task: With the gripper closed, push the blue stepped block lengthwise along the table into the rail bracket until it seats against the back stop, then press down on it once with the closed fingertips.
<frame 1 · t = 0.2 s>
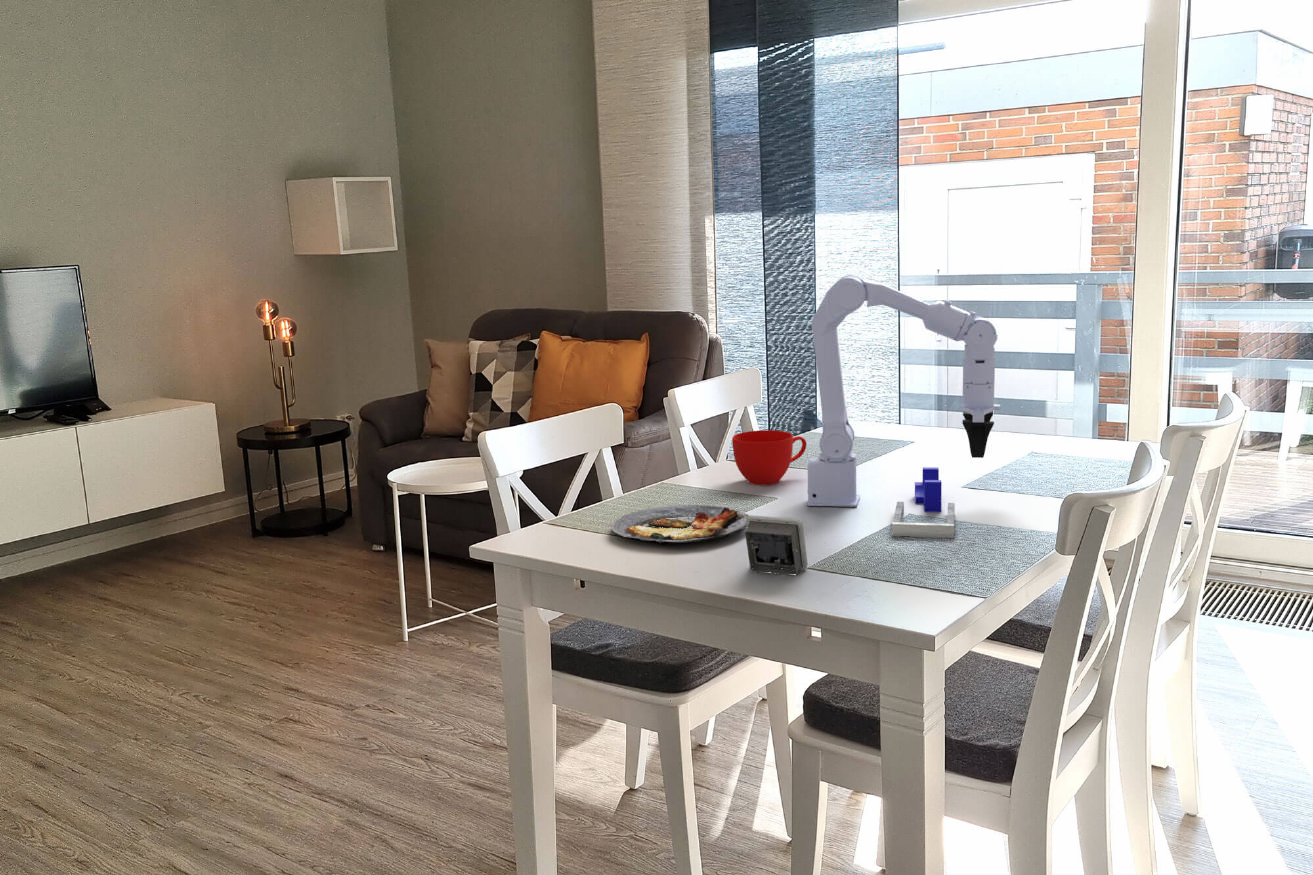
hand: (977, 452, 205), 10 cm above the table, tool pointing down, fingers open, 7 cm apart
food plate: (682, 533, 198), on the table
rail bracket: (924, 524, 195), on the table
ceramic cup: (772, 481, 233), on the table
blue stepped block: (927, 505, 209), on the table
electrical switch: (776, 573, 173), on the table
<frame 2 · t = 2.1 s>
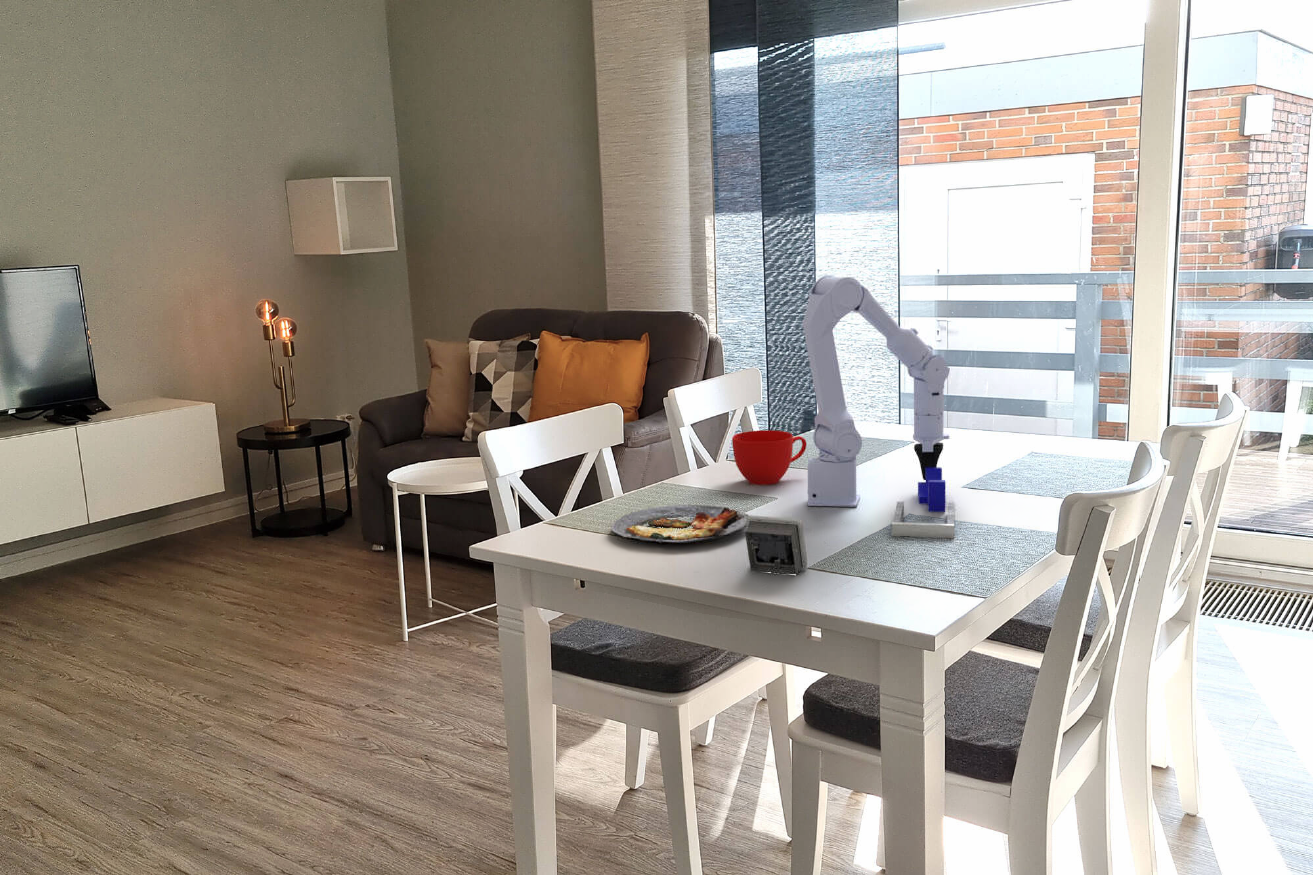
hand: (928, 479, 218), 2 cm above the table, tool pointing down, fingers closed
nothing on the table moved.
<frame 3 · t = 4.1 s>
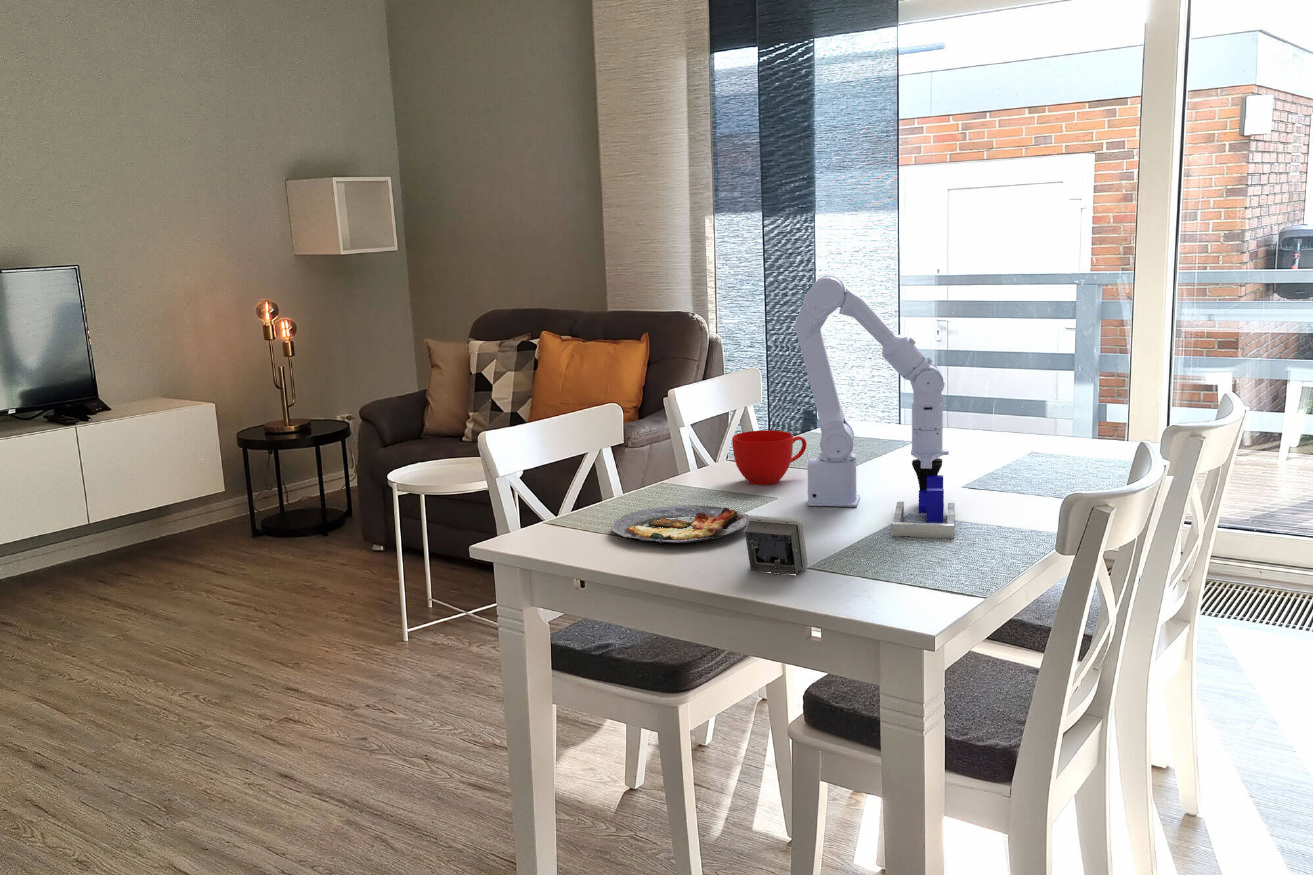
hand: (927, 496, 209), 1 cm above the table, tool pointing down, fingers closed
blue stepped block: (930, 514, 202), on the table, touching gripper
everything else where it was.
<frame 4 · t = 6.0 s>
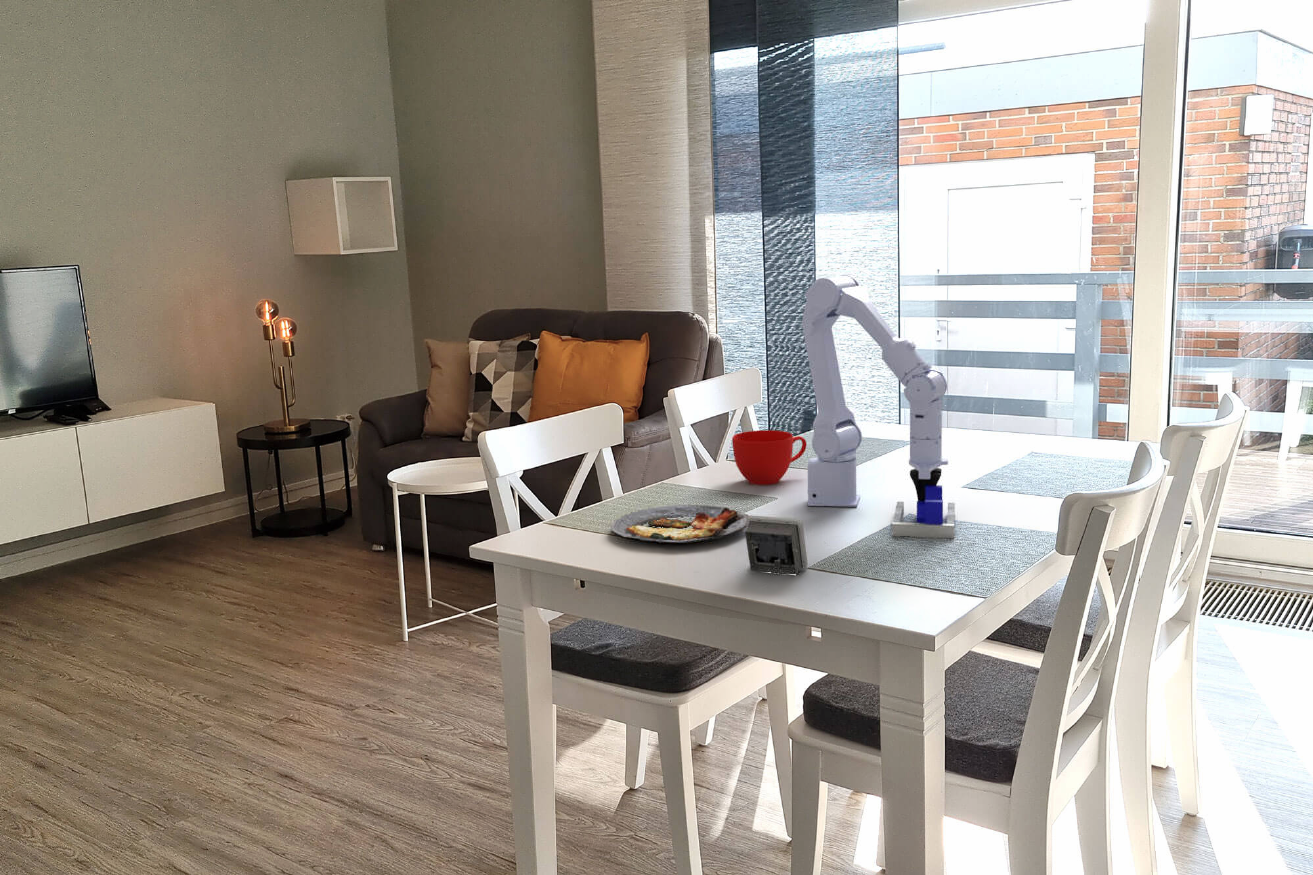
hand: (925, 508, 202), 1 cm above the table, tool pointing down, fingers closed
blue stepped block: (929, 526, 194), resting in rail bracket, touching gripper
everything else where it was.
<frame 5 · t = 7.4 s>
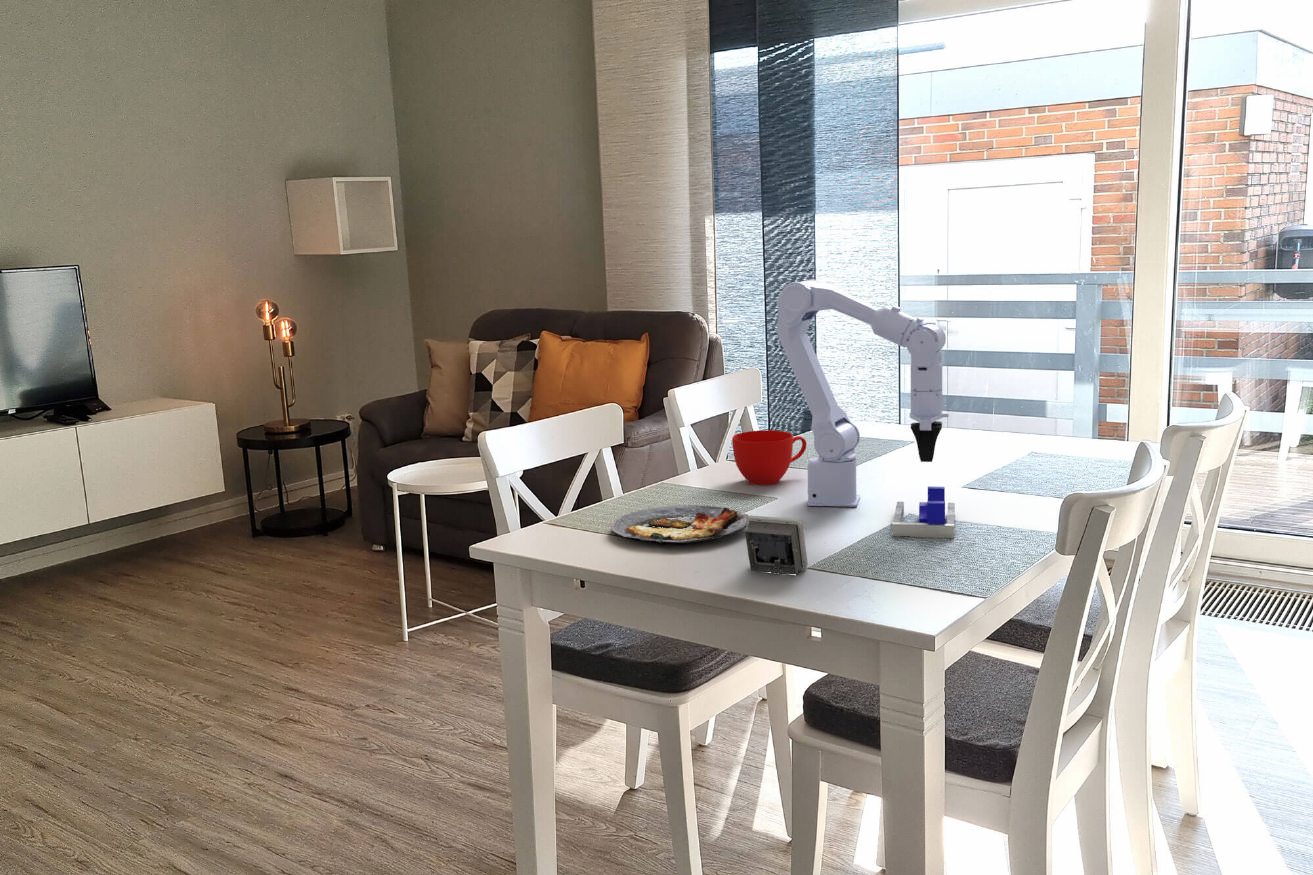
hand: (926, 461, 203), 9 cm above the table, tool pointing down, fingers closed
blue stepped block: (931, 528, 194), resting in rail bracket
everything else where it was.
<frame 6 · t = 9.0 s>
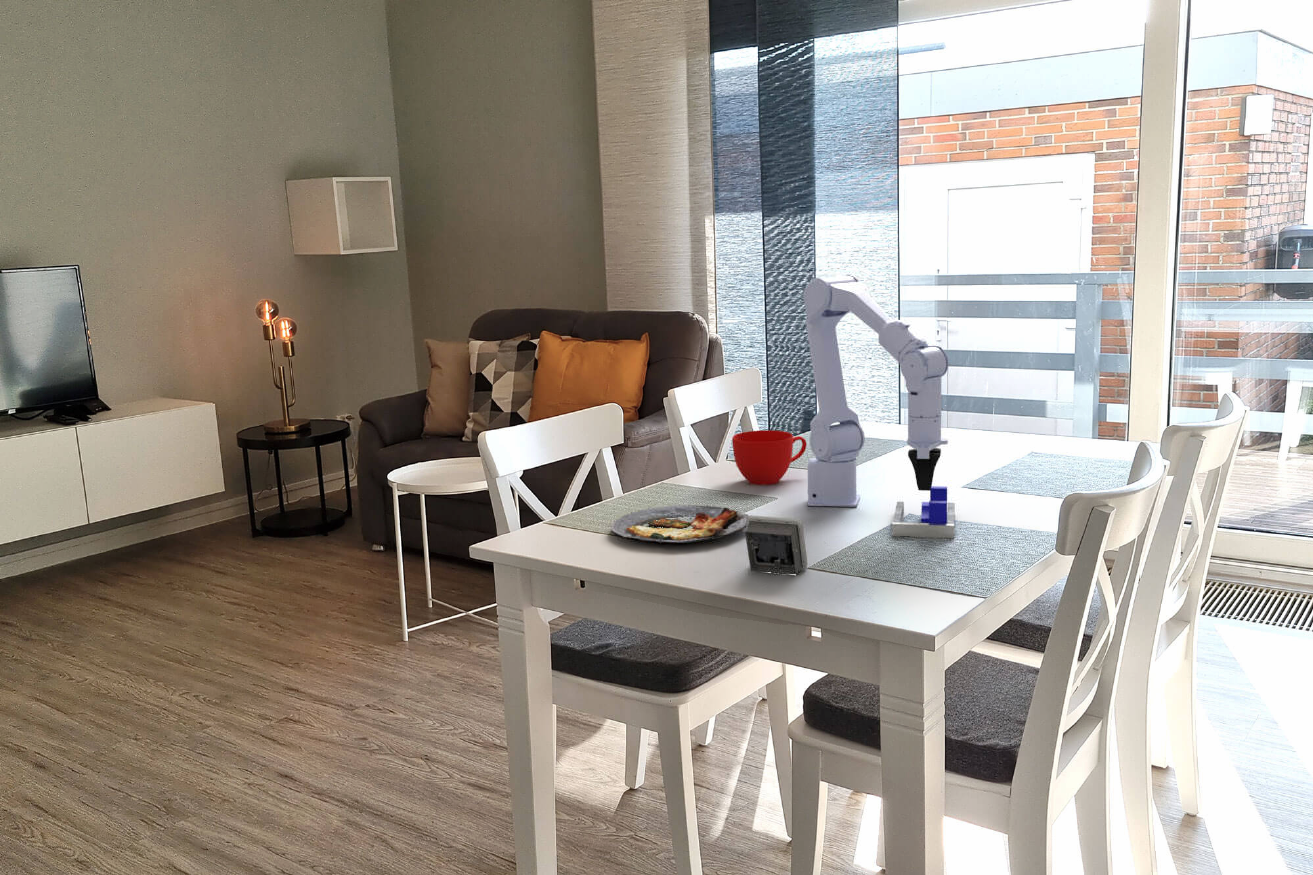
hand: (924, 489, 194), 6 cm above the table, tool pointing down, fingers closed
nothing on the table moved.
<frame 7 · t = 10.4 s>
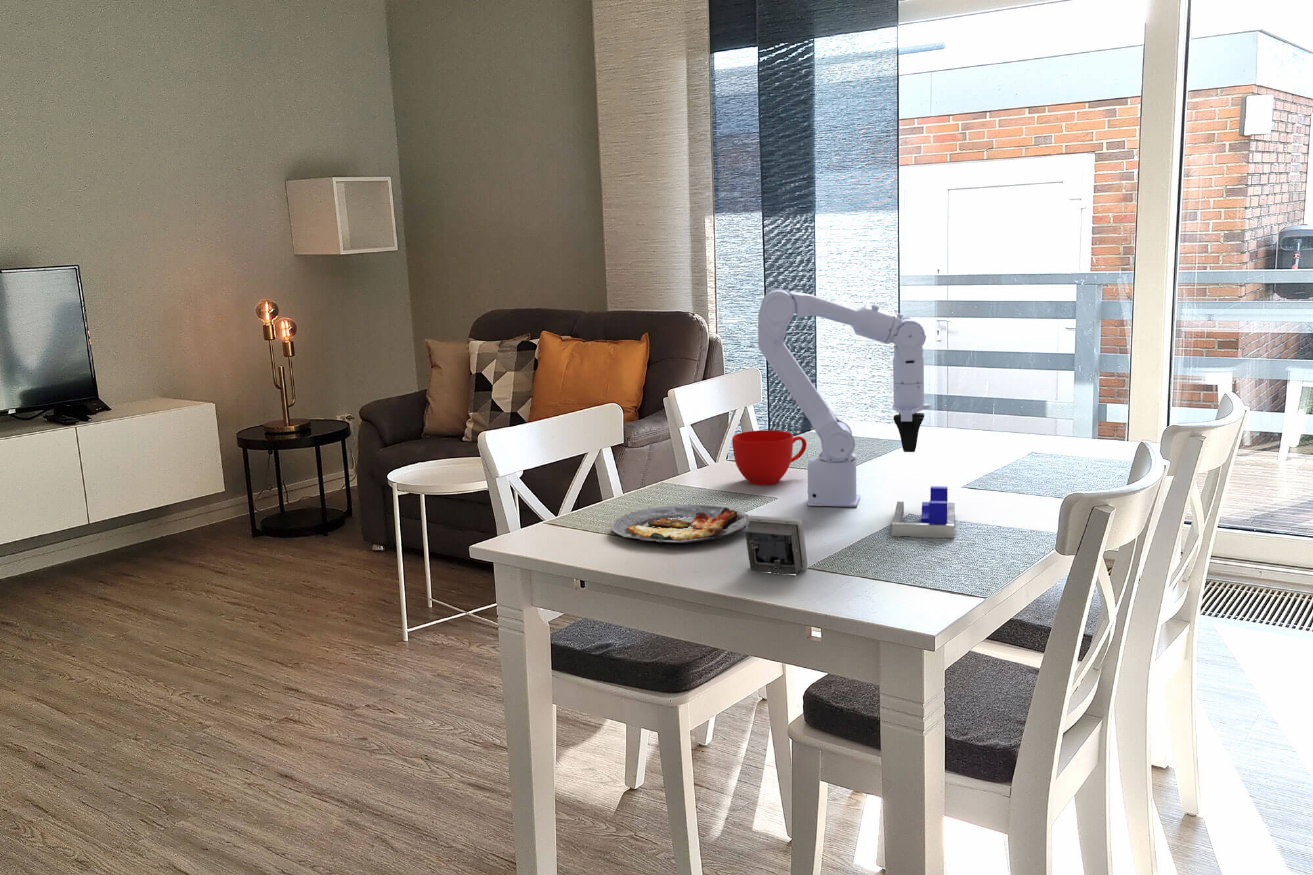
hand: (909, 451, 209), 10 cm above the table, tool pointing down, fingers closed
nothing on the table moved.
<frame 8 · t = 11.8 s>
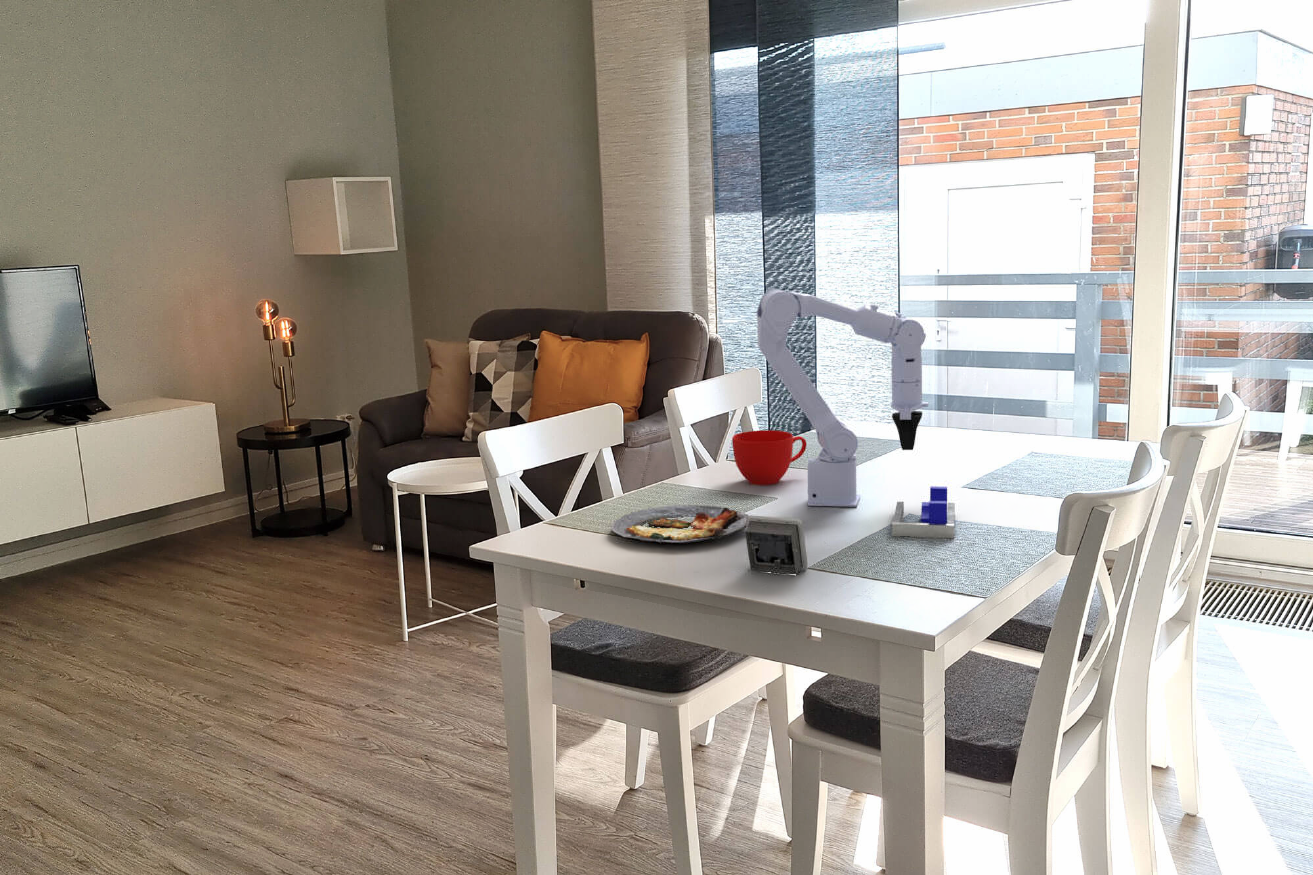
hand: (907, 449, 211), 10 cm above the table, tool pointing down, fingers closed
nothing on the table moved.
at the end: blue stepped block inside the target area on the rail bracket (2.1 cm from its centre), point 0.0 cm above the rail bracket's base; blue stepped block tilted 0°; blue stepped block moved 15.5 cm from its start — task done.
